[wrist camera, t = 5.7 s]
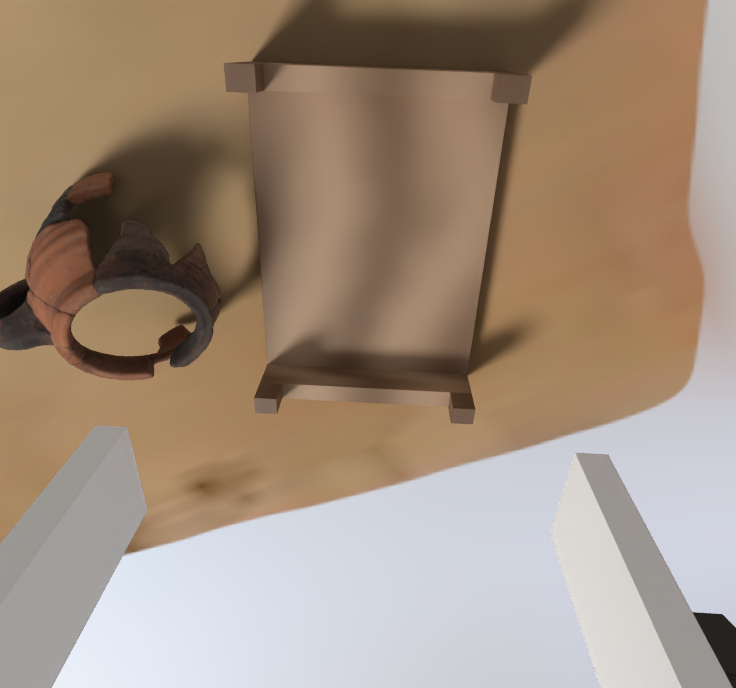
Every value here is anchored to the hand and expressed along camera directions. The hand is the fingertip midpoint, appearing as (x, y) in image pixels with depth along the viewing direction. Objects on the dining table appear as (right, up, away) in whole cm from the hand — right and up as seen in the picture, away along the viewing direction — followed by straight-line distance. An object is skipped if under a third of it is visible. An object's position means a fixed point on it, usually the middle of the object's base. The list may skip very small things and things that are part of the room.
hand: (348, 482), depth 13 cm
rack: (+1, +9, +16) cm, 18 cm away
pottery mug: (-15, +9, +17) cm, 24 cm away
